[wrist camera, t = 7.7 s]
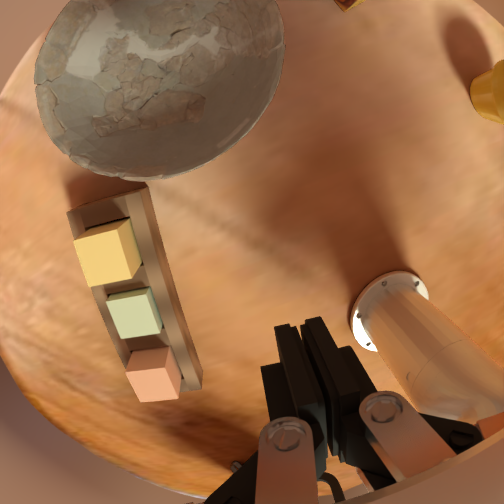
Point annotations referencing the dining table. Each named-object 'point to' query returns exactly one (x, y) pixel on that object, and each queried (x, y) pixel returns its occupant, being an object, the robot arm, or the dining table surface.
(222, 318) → the dining table surface
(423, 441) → the robot arm
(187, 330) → the wooden tray
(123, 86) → the ceramic bowl
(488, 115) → the plant pot
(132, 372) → the salmon pink cube
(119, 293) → the pale green cube
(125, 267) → the yellow cube
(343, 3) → the candy box
